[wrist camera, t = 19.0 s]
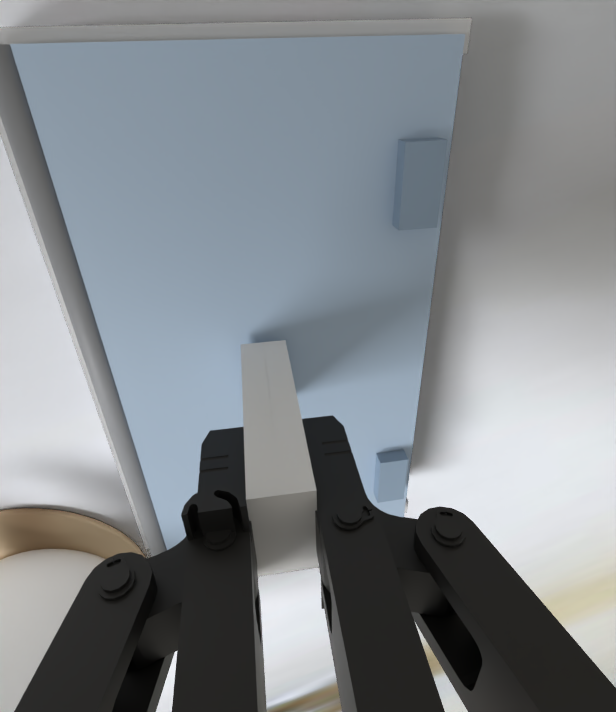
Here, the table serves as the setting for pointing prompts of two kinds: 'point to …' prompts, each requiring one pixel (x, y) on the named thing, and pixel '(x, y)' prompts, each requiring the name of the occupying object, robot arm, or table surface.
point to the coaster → (59, 533)
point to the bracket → (200, 33)
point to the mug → (34, 611)
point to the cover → (240, 233)
